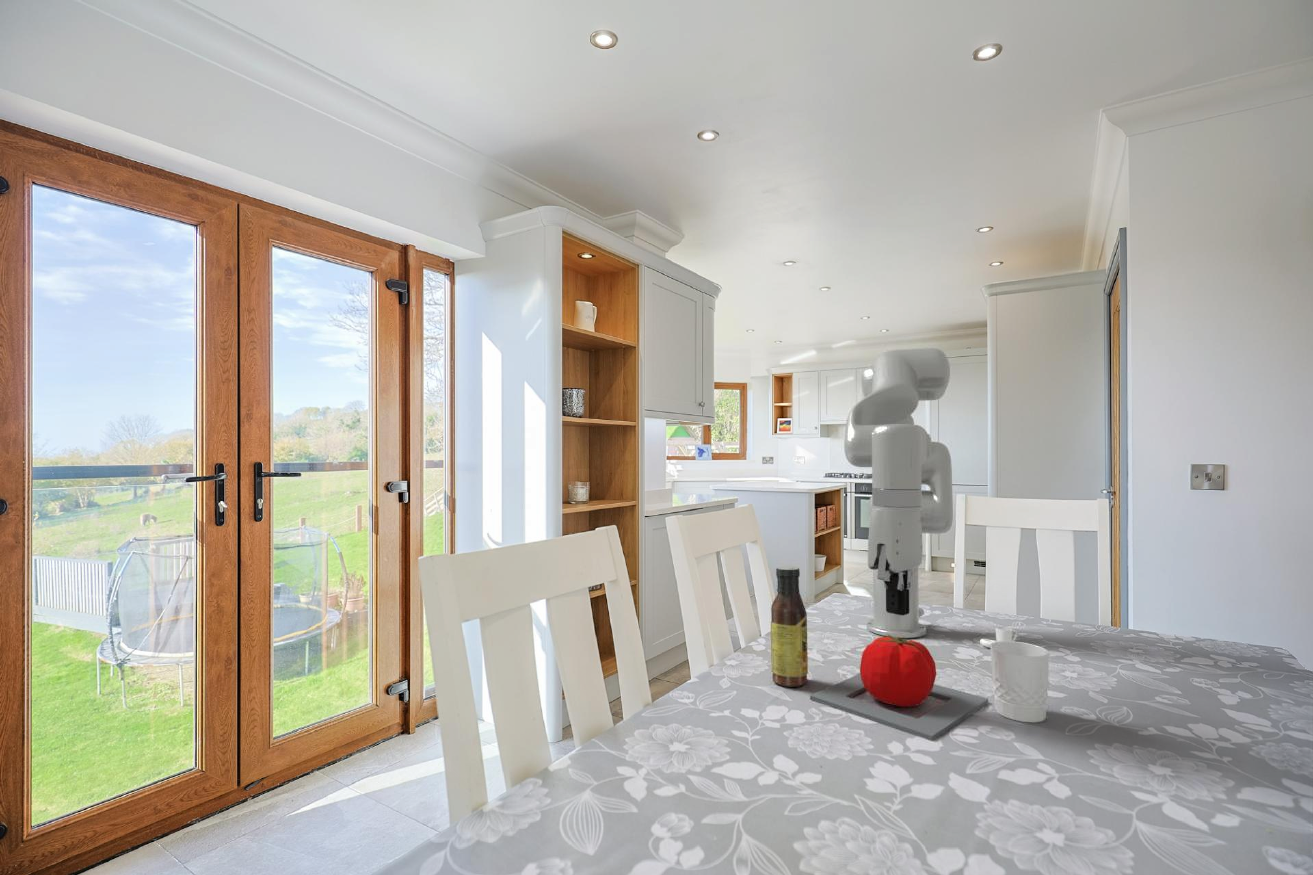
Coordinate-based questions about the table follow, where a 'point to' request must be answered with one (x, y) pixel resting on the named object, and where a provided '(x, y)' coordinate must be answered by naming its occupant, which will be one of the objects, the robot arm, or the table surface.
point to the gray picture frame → (925, 726)
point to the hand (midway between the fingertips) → (897, 613)
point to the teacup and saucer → (1000, 636)
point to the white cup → (1020, 680)
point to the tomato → (897, 671)
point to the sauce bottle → (789, 631)
